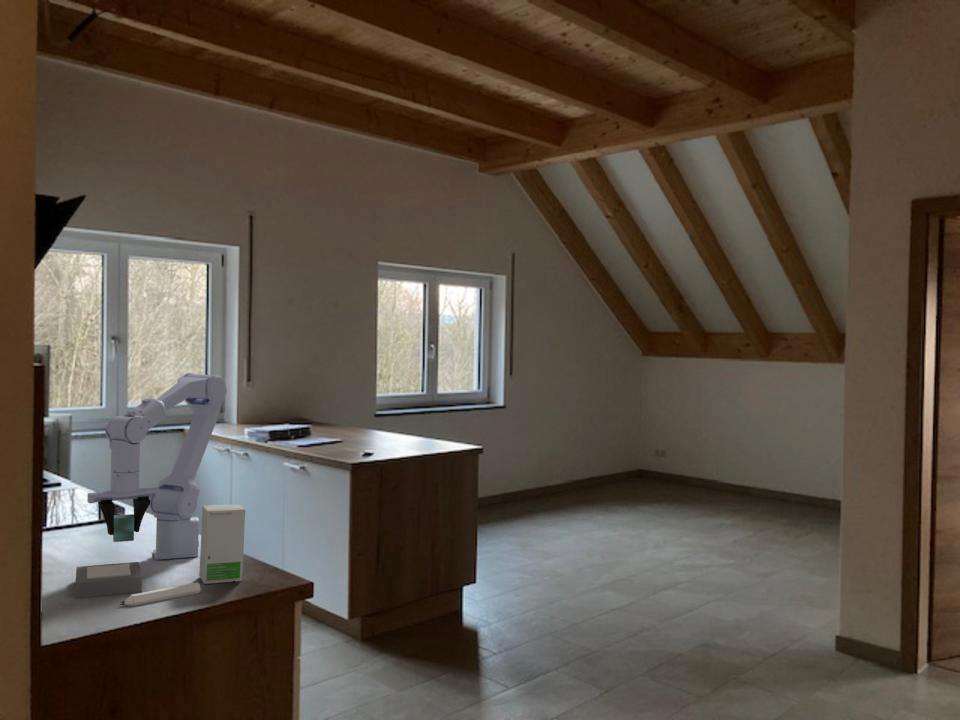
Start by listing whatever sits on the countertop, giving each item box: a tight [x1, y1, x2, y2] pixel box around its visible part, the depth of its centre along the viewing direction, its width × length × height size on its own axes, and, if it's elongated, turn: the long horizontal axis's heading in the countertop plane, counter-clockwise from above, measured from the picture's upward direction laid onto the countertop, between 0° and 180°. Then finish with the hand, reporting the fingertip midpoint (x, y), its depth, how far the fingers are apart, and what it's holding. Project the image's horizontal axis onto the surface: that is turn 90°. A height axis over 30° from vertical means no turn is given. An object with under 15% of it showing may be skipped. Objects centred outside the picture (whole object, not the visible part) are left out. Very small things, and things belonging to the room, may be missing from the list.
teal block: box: [112, 513, 135, 543], centre depth 175 cm, size 4×4×5 cm
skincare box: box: [198, 504, 246, 585], centre depth 172 cm, size 8×7×16 cm
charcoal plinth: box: [74, 561, 143, 599], centre depth 164 cm, size 12×12×3 cm
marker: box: [116, 582, 201, 607], centre depth 157 cm, size 3×2×16 cm
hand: (123, 532), depth 175 cm, fingers closed on teal block, 5 cm apart
